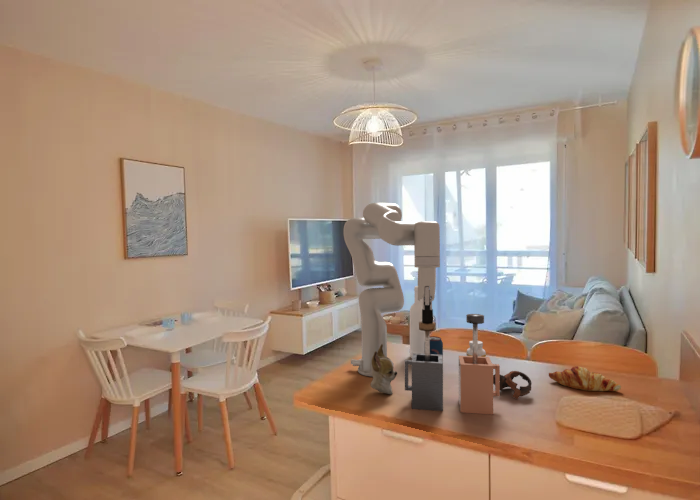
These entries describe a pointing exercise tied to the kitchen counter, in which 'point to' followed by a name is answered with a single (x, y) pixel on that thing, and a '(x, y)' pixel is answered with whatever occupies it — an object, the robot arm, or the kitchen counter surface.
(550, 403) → the kitchen counter surface
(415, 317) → the bottle
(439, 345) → the soda can
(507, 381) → the brown curved piece
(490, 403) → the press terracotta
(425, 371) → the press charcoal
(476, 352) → the grey plunger
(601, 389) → the croissant
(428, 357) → the plunger bronze
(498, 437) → the kitchen counter surface
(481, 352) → the supplement bottle
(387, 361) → the ceramic sculpture
